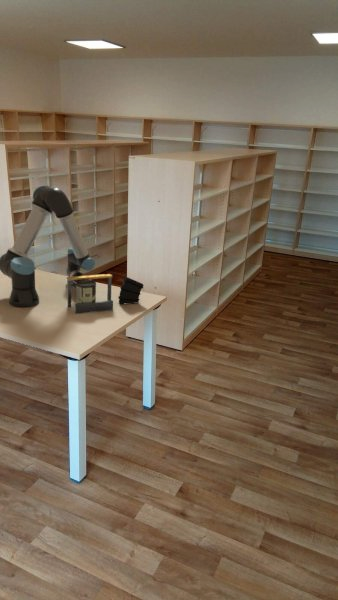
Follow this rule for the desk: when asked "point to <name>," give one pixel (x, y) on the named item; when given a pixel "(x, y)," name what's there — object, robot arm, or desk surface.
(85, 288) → the coffee can
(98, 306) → the retention bracket
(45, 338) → the desk surface
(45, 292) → the desk surface
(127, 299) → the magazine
